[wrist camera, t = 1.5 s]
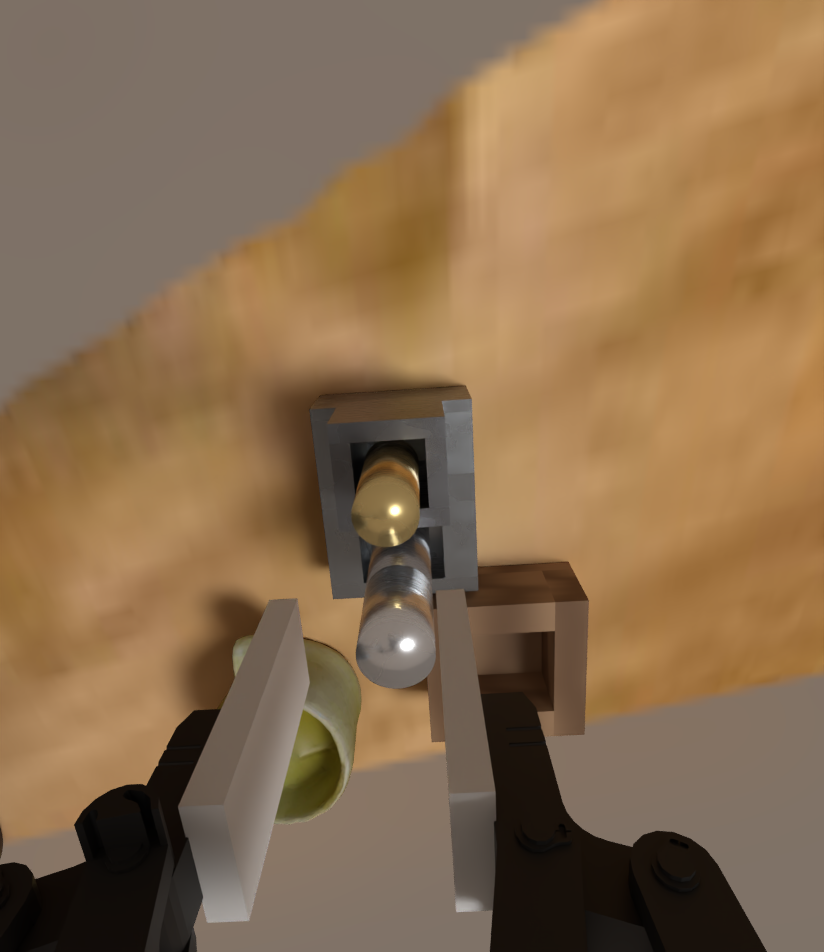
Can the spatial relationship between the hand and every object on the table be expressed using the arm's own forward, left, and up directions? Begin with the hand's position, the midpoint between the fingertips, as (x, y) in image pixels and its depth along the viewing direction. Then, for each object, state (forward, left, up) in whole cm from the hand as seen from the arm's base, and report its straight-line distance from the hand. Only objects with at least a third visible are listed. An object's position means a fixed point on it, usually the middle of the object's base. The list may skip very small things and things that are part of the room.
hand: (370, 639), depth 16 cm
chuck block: (0, -4, -23) cm, 23 cm away
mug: (-9, -17, -23) cm, 30 cm away
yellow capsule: (0, 0, -16) cm, 16 cm away
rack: (+6, -15, -23) cm, 28 cm away
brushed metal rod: (0, -6, -22) cm, 22 cm away
